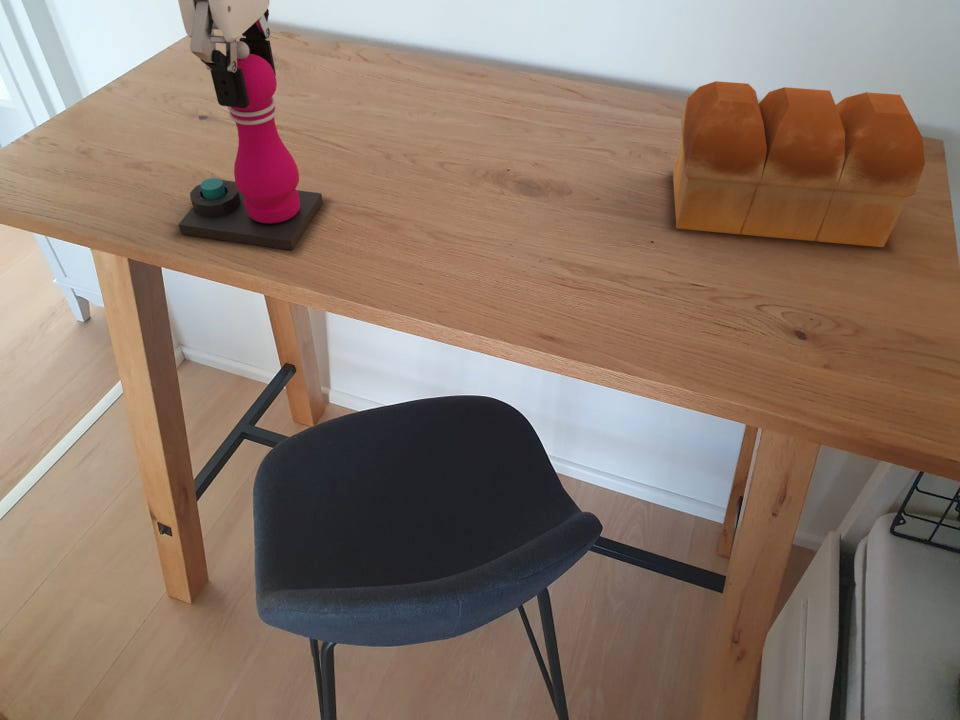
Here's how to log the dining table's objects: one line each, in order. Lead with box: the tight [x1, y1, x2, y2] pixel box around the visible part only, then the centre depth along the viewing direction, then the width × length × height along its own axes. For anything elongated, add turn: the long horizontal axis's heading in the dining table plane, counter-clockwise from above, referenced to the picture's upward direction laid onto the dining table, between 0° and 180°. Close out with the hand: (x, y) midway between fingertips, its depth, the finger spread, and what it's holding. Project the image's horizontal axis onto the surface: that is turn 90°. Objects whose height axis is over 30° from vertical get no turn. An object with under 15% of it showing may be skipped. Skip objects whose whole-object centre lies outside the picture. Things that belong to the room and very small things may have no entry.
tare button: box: [199, 177, 226, 200], centre depth 91 cm, size 3×3×2 cm
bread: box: [672, 80, 926, 248], centre depth 90 cm, size 25×12×15 cm, turn 82°
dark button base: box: [177, 179, 324, 251], centre depth 92 cm, size 14×10×3 cm
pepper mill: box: [227, 40, 300, 223], centre depth 84 cm, size 7×7×20 cm
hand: (248, 89), depth 81 cm, fingers closed on pepper mill, 6 cm apart
